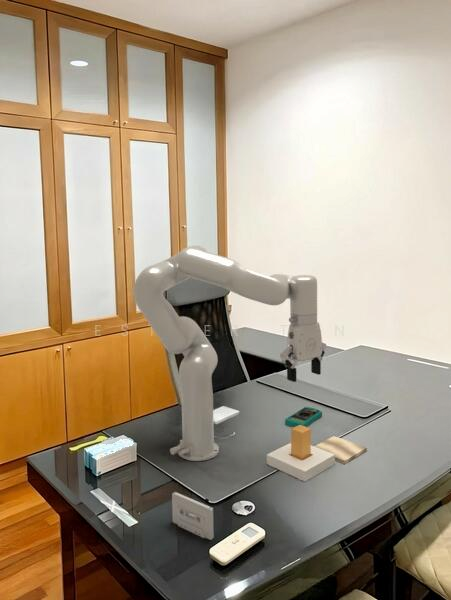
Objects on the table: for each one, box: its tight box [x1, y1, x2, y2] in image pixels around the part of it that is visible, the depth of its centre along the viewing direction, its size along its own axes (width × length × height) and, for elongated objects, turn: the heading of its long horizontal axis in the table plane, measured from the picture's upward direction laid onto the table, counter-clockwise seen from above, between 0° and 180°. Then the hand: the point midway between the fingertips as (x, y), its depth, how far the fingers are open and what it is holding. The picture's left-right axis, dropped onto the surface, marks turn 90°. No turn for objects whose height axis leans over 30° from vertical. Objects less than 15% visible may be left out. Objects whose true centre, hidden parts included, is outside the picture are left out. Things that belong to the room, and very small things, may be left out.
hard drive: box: [213, 405, 240, 425], centre depth 190 cm, size 2×8×12 cm
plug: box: [290, 425, 312, 461], centre depth 153 cm, size 4×4×11 cm
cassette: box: [171, 491, 215, 541], centre depth 123 cm, size 12×2×8 cm, turn 53°
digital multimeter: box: [284, 406, 323, 428], centre depth 186 cm, size 7×15×3 cm, turn 143°
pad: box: [313, 435, 368, 465], centre depth 162 cm, size 12×12×1 cm
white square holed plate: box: [266, 442, 336, 482], centre depth 154 cm, size 14×14×3 cm
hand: (304, 377), depth 153 cm, fingers open, 9 cm apart
